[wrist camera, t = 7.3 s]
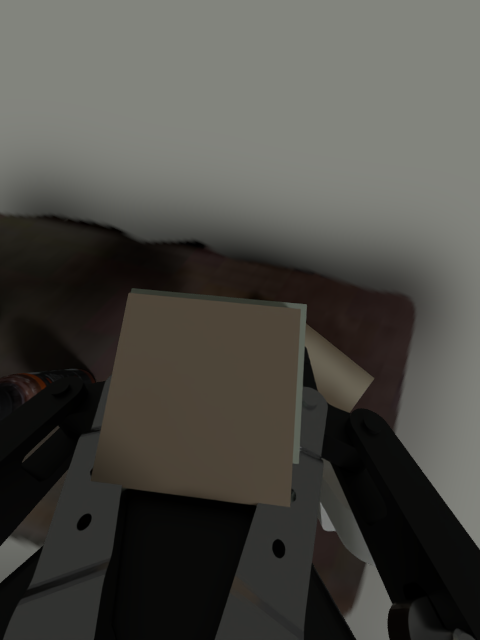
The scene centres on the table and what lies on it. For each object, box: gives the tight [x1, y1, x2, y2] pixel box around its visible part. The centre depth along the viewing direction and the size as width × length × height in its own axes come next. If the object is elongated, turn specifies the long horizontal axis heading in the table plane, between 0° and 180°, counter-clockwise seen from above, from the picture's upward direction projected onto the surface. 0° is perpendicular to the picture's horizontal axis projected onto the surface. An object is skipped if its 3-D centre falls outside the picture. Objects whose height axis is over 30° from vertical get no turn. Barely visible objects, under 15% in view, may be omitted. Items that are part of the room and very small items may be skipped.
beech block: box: [305, 324, 374, 413], centre depth 27 cm, size 12×12×6 cm
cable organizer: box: [318, 458, 376, 566], centre depth 22 cm, size 5×10×10 cm, turn 1°
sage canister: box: [91, 288, 307, 507], centre depth 10 cm, size 5×5×11 cm
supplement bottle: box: [0, 369, 95, 421], centre depth 24 cm, size 6×6×11 cm
